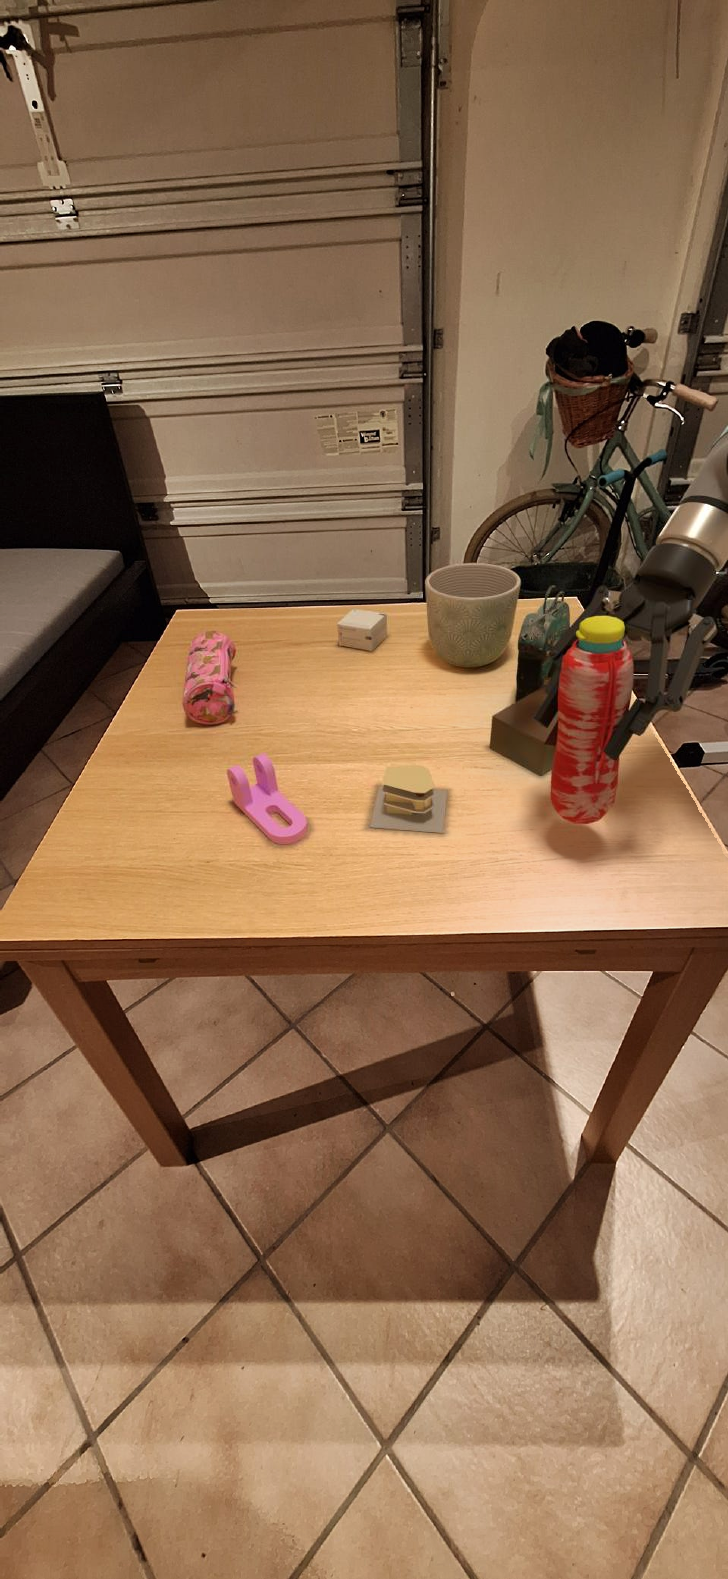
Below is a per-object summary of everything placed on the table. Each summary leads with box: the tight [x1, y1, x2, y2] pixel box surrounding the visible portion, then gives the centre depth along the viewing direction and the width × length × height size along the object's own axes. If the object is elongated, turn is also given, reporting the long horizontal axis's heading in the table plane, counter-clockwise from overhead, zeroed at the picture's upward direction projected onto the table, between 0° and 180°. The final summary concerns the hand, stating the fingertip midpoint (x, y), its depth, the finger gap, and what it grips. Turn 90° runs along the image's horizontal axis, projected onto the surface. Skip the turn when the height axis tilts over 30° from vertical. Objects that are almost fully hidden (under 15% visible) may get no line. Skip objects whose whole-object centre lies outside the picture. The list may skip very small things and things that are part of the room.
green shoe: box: [514, 584, 571, 703], centre depth 105 cm, size 20×6×20 cm, turn 151°
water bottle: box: [544, 615, 635, 825], centre depth 73 cm, size 12×8×25 cm, turn 2°
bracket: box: [226, 752, 308, 845], centre depth 87 cm, size 13×6×7 cm, turn 38°
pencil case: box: [182, 629, 237, 725], centre depth 114 cm, size 21×9×9 cm, turn 10°
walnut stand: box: [489, 684, 558, 777], centre depth 98 cm, size 10×14×6 cm
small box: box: [336, 608, 388, 653], centre depth 129 cm, size 8×8×5 cm
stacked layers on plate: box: [369, 765, 448, 834], centre depth 87 cm, size 10×9×6 cm
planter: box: [424, 562, 522, 668], centre depth 118 cm, size 17×17×15 cm
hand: (573, 739), depth 71 cm, fingers closed on water bottle, 8 cm apart
